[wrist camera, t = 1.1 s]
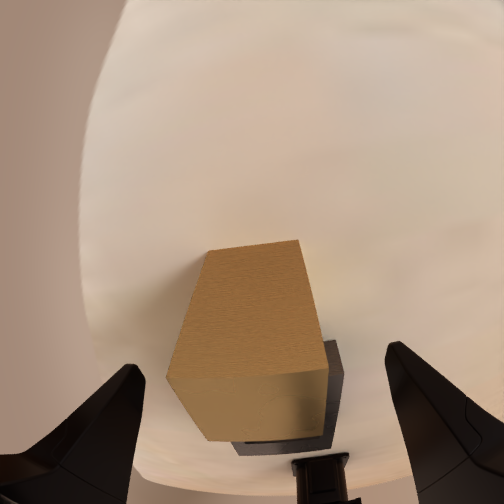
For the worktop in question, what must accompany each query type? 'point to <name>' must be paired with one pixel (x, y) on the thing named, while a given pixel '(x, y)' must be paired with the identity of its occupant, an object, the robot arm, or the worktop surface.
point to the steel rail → (329, 422)
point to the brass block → (252, 347)
